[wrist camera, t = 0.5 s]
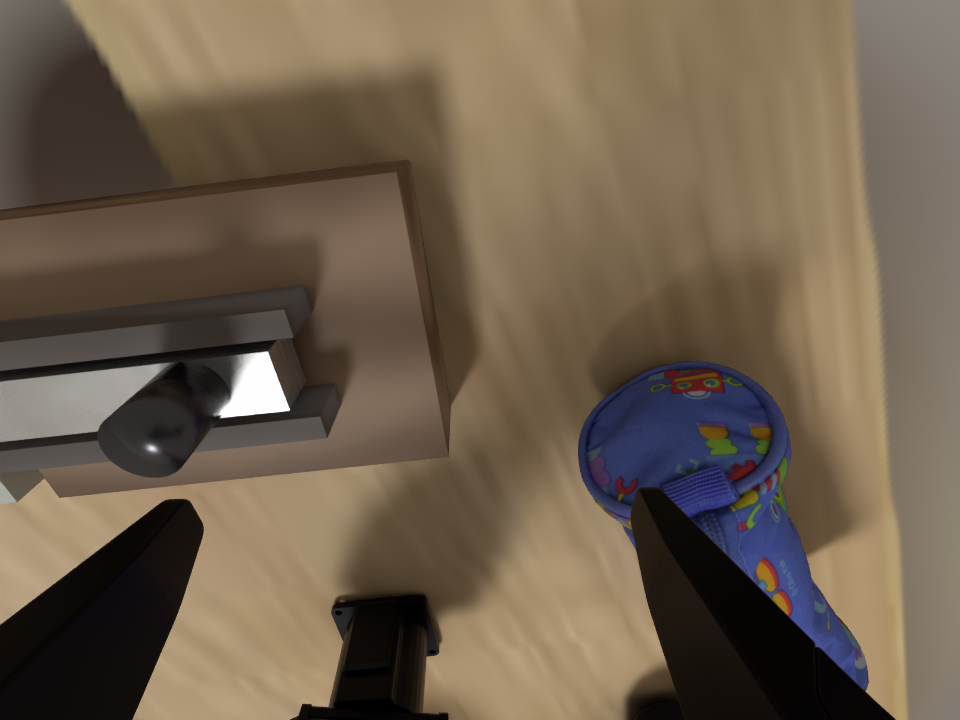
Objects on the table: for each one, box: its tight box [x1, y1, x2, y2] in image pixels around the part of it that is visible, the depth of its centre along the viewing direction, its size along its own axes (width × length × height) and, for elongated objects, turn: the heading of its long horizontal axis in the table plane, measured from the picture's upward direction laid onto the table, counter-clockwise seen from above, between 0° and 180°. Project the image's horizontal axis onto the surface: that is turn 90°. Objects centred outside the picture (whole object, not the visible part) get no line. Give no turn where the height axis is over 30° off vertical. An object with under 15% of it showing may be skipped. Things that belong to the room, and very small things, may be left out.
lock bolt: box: [0, 338, 306, 478], centre depth 16 cm, size 12×2×5 cm, turn 96°
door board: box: [0, 160, 451, 498], centre depth 19 cm, size 12×18×6 cm, turn 96°
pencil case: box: [578, 361, 869, 691], centre depth 24 cm, size 22×9×10 cm, turn 30°
